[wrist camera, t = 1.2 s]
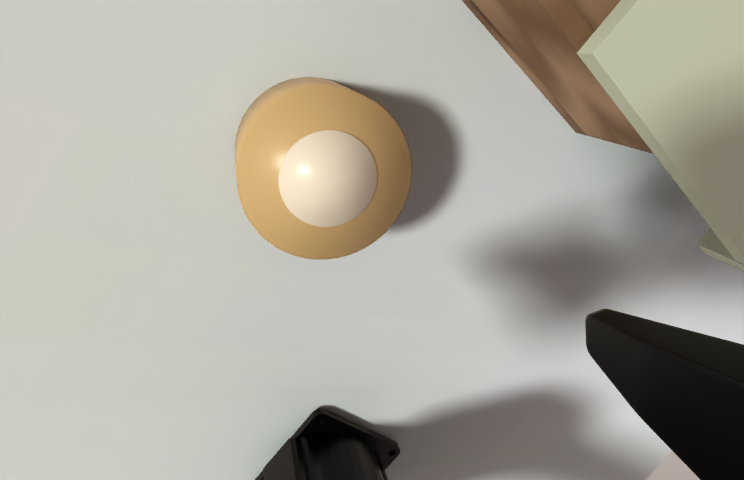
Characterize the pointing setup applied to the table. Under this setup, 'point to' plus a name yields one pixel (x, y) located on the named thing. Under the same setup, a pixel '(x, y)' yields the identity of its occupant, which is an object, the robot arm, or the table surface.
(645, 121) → the lid
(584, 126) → the walnut box
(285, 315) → the table surface
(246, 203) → the dome push button
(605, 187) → the table surface
